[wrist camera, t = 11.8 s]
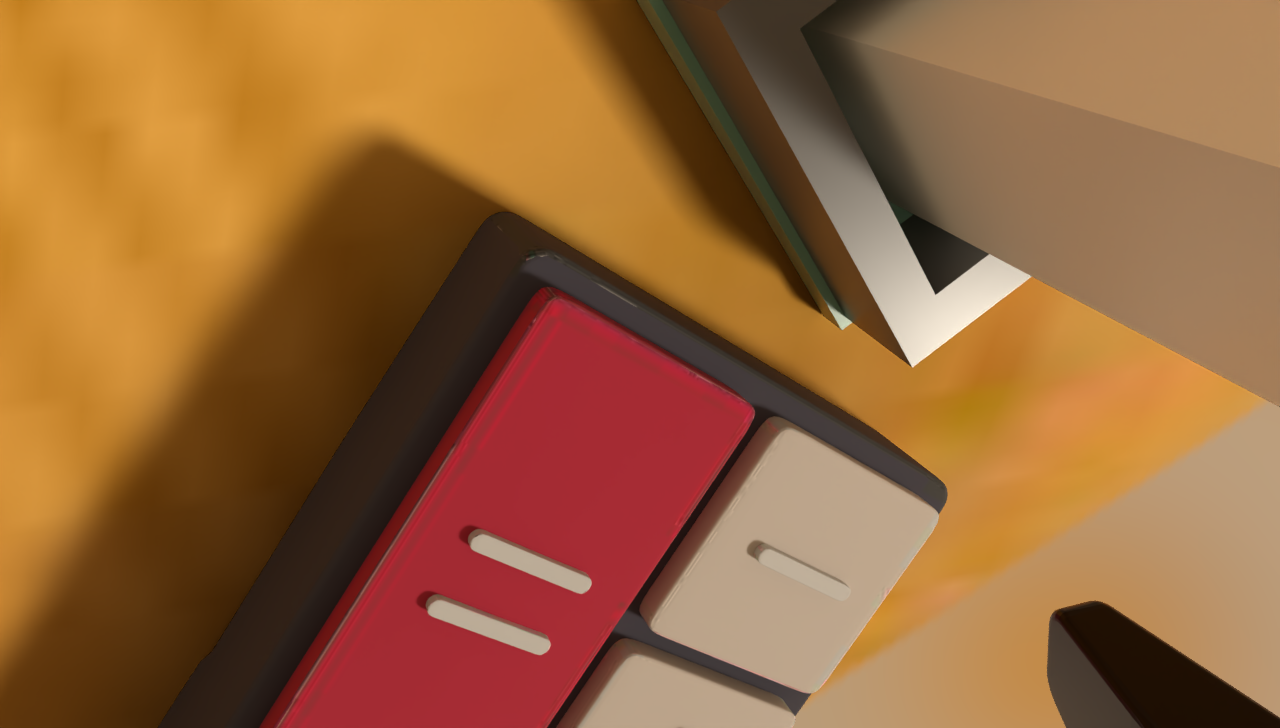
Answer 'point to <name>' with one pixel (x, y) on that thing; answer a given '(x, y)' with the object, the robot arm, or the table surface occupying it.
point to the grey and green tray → (823, 177)
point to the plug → (1087, 151)
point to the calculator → (570, 526)
